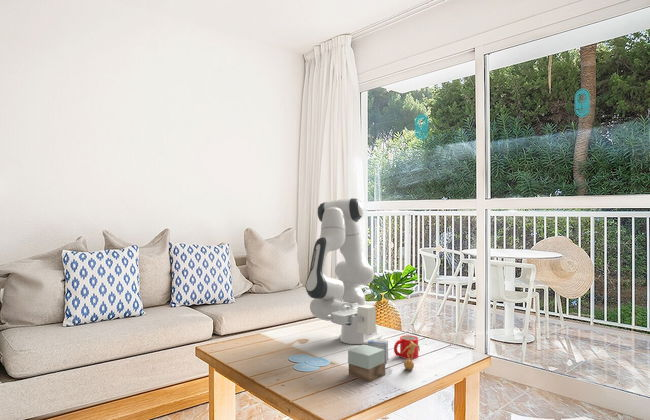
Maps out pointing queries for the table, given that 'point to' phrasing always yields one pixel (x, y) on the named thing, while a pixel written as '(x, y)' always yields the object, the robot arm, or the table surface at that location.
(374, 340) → the medicine box
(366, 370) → the tower bottom
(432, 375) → the table surface
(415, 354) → the mug
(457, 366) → the table surface
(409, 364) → the figurine
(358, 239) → the robot arm
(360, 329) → the tall block
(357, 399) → the table surface
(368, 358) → the tower top
